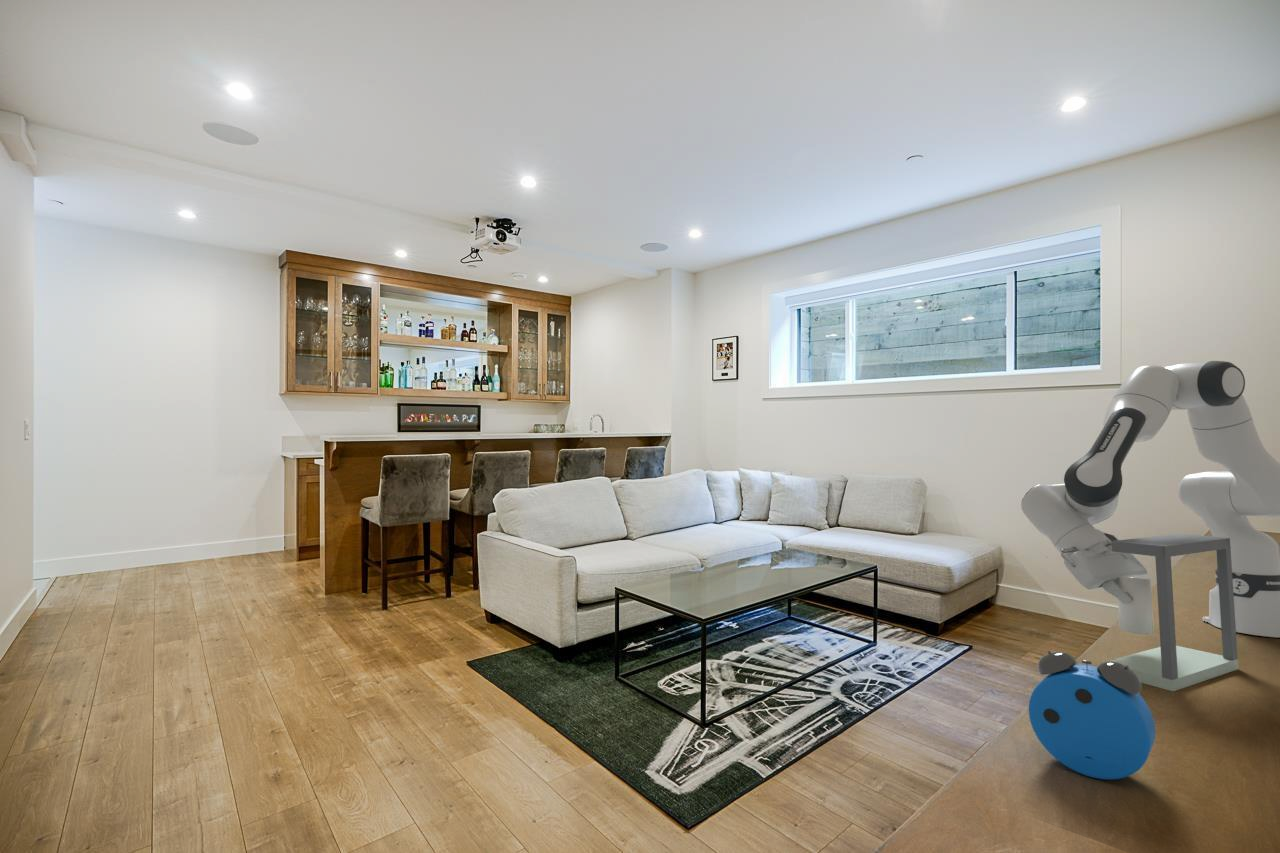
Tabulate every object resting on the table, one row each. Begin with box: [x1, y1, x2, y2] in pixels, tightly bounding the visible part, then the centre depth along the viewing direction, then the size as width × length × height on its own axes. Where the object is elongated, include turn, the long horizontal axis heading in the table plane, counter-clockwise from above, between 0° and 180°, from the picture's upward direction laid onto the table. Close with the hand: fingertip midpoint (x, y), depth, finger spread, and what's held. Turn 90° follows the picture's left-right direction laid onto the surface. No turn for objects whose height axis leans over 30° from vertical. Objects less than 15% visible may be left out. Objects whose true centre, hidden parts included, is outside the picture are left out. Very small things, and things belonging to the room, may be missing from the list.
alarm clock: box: [1028, 650, 1156, 780], centre depth 81 cm, size 13×6×15 cm, turn 44°
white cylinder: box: [1117, 575, 1155, 635], centre depth 124 cm, size 6×6×11 cm
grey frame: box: [1108, 533, 1239, 692], centre depth 119 cm, size 26×11×26 cm, turn 116°
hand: (1138, 600), depth 123 cm, fingers closed on white cylinder, 5 cm apart
